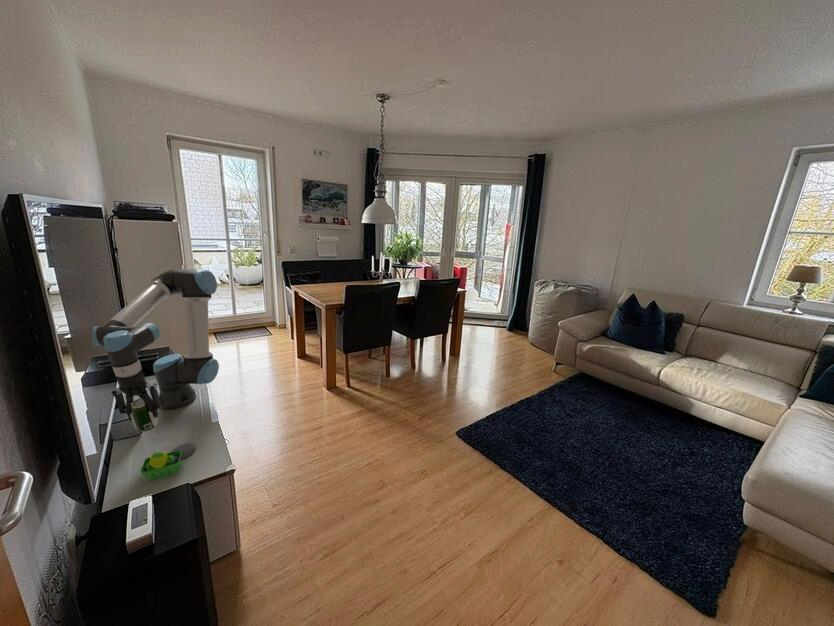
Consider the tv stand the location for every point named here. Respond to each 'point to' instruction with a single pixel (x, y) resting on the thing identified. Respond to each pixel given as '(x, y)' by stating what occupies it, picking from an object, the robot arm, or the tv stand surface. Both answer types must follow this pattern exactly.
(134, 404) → the beer can
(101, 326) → the robot arm
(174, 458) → the fruit basket
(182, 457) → the coaster
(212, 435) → the tv stand surface
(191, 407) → the tv stand surface
